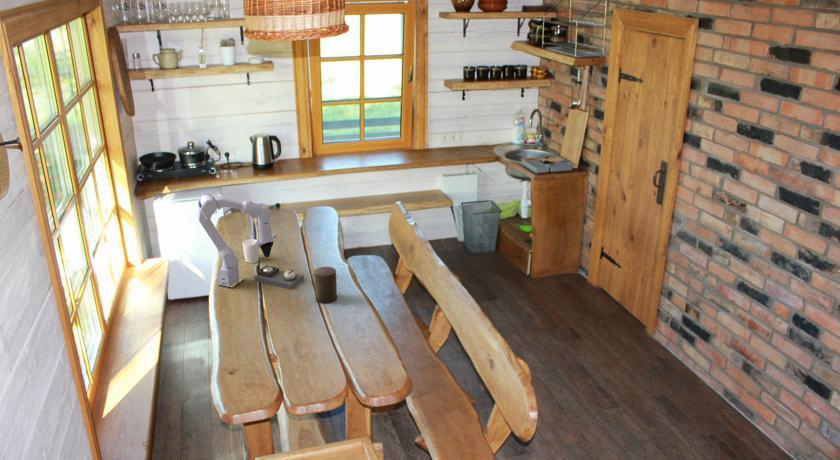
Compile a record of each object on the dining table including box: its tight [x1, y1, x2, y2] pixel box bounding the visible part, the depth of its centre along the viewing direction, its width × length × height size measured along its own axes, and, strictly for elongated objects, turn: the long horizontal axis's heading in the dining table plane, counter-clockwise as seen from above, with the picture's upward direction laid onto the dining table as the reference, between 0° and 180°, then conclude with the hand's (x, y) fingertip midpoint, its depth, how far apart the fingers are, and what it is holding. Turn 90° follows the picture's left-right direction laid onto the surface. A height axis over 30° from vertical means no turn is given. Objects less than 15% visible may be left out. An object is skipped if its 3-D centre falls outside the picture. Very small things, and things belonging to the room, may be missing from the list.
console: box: [254, 264, 305, 290], centre depth 332 cm, size 11×20×4 cm, turn 66°
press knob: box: [263, 266, 273, 273], centre depth 334 cm, size 4×4×2 cm
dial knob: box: [284, 269, 296, 279], centre depth 329 cm, size 5×5×2 cm
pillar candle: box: [314, 266, 338, 304], centre depth 315 cm, size 10×10×15 cm
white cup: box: [242, 238, 260, 264], centre depth 352 cm, size 8×8×10 cm
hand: (266, 256), depth 334 cm, fingers closed
